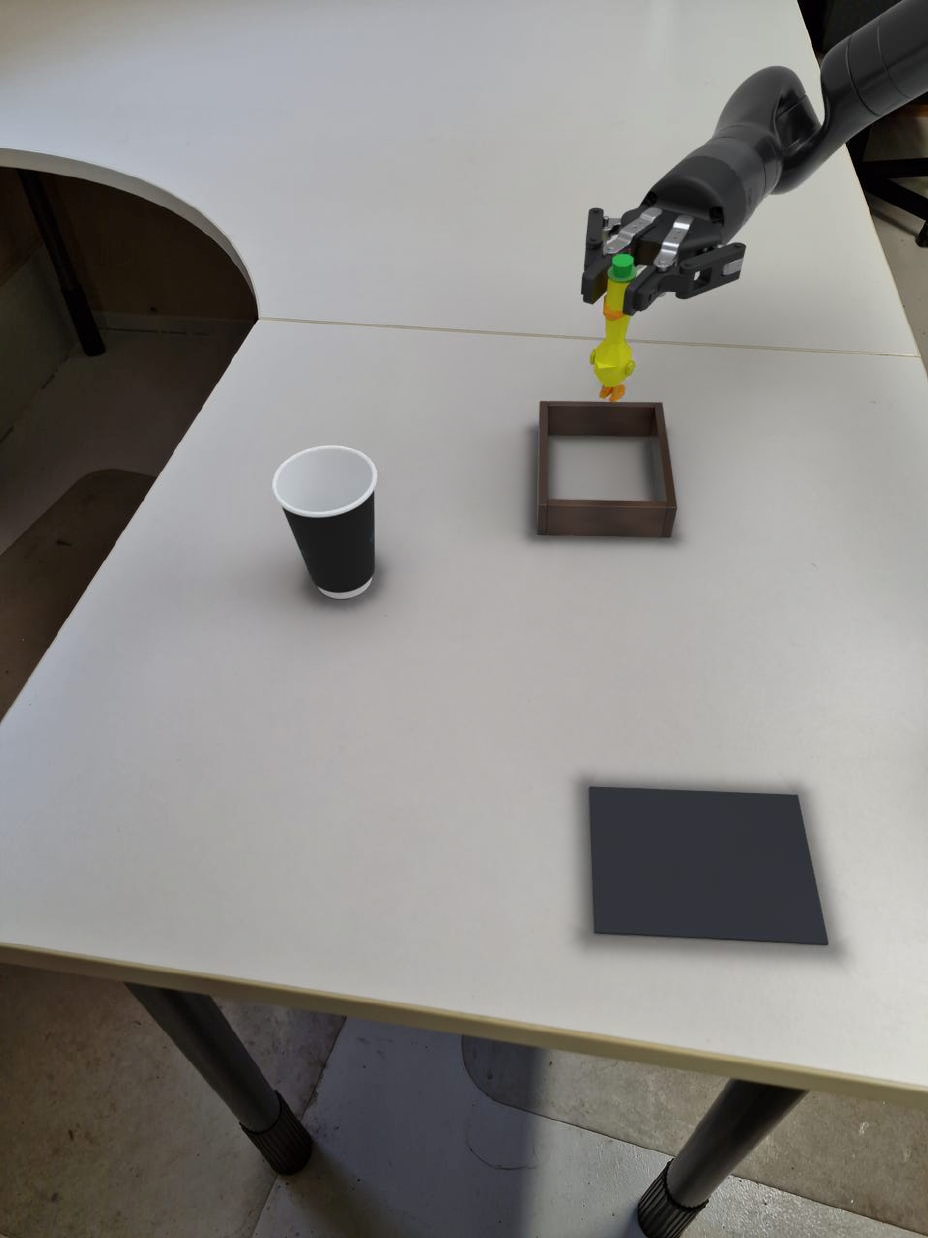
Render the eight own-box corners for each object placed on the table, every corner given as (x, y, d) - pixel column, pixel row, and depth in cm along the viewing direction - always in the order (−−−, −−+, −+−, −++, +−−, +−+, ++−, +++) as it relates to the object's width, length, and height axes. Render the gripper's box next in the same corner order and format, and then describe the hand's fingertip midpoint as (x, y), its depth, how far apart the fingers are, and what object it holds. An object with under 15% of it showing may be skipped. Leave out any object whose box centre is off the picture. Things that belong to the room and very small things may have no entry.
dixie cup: (410, 572, 73) (399, 472, 64) (343, 628, 69) (322, 530, 60) (345, 531, 76) (325, 431, 68) (278, 582, 72) (248, 483, 64)
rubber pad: (796, 796, 58) (798, 794, 58) (827, 945, 52) (828, 943, 51) (589, 788, 59) (589, 786, 59) (594, 933, 53) (594, 931, 52)
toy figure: (611, 366, 74) (627, 228, 65) (649, 378, 72) (671, 239, 63) (575, 407, 70) (586, 268, 61) (614, 421, 69) (632, 280, 60)
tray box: (657, 431, 84) (662, 401, 81) (671, 537, 74) (677, 507, 72) (538, 430, 84) (539, 400, 82) (536, 534, 75) (538, 504, 72)
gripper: (774, 266, 71) (688, 370, 62) (623, 227, 77) (523, 318, 68) (798, 172, 66) (706, 272, 57) (632, 137, 71) (525, 224, 62)
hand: (607, 296), depth 62 cm, fingers closed on toy figure, 2 cm apart
